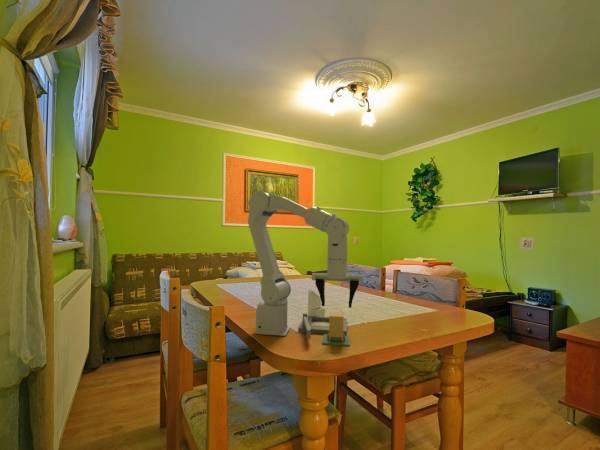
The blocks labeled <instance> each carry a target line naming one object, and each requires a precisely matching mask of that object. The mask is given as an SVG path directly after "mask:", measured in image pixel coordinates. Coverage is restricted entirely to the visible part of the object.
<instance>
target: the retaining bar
mask: <svg viewBox="0 0 600 450" xmlns="http://www.w3.org/2000/svg"><path fill="white" fill-rule="evenodd" d="M307 316H308V313H303V314H302V320H303V324H304V328H305V332H304V333H305V335H306V340H311V339H312V336H311V335H312V333H311V329H310V325H309V322H308V318H307Z"/></svg>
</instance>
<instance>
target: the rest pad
mask: <svg viewBox="0 0 600 450" xmlns="http://www.w3.org/2000/svg"><path fill="white" fill-rule="evenodd" d="M321 345H328V346H339V347H350V346H351V345H350V335H345V341H343V342H332V341H329V340H328V339H327V334H323V336H322V340H321Z"/></svg>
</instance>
